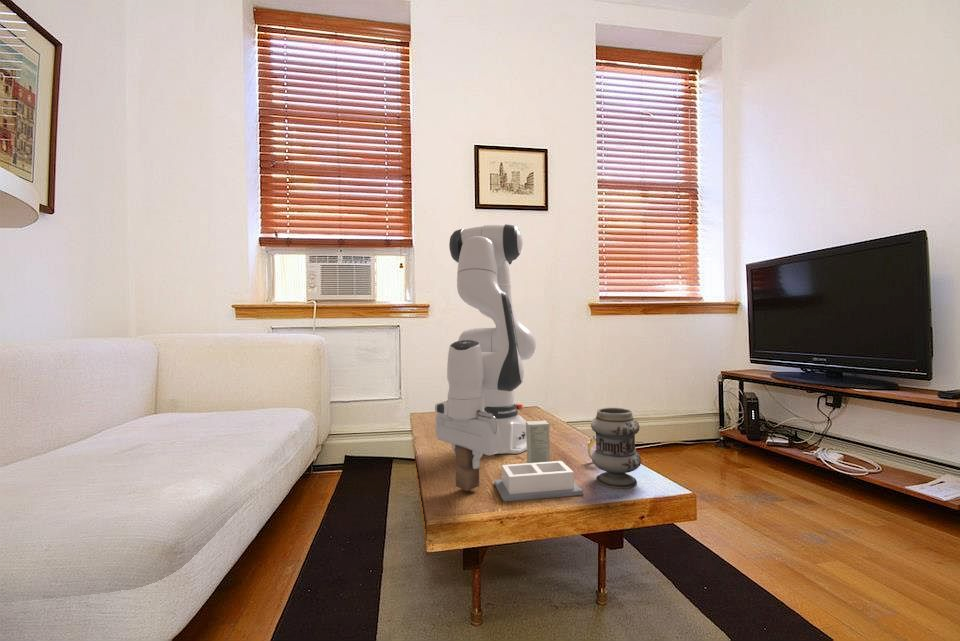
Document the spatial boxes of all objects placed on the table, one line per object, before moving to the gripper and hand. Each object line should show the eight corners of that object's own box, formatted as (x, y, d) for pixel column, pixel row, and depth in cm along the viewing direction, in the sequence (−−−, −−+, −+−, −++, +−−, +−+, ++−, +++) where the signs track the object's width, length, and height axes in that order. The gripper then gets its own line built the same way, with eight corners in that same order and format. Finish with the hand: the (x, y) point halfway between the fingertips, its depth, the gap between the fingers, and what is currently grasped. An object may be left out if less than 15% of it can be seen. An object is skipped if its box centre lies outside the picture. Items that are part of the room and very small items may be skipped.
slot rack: (503, 501, 97) (503, 479, 97) (494, 483, 108) (494, 463, 108) (583, 494, 100) (582, 473, 100) (566, 478, 111) (565, 458, 111)
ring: (588, 464, 121) (588, 436, 121) (585, 460, 125) (584, 433, 125) (612, 463, 122) (612, 435, 122) (608, 459, 125) (608, 432, 125)
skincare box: (547, 462, 124) (546, 420, 124) (550, 467, 119) (550, 423, 119) (526, 462, 124) (525, 420, 124) (528, 467, 119) (527, 424, 119)
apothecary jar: (600, 469, 117) (599, 403, 117) (647, 478, 110) (645, 408, 110) (584, 483, 107) (583, 411, 107) (634, 494, 100) (632, 417, 100)
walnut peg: (468, 481, 106) (467, 441, 106) (479, 486, 103) (478, 444, 103) (455, 486, 103) (455, 445, 103) (466, 491, 100) (466, 448, 100)
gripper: (506, 412, 98) (507, 472, 98) (449, 400, 113) (450, 453, 113) (486, 416, 94) (487, 479, 94) (430, 404, 108) (431, 458, 108)
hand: (467, 465), depth 103 cm, fingers closed on walnut peg, 4 cm apart
